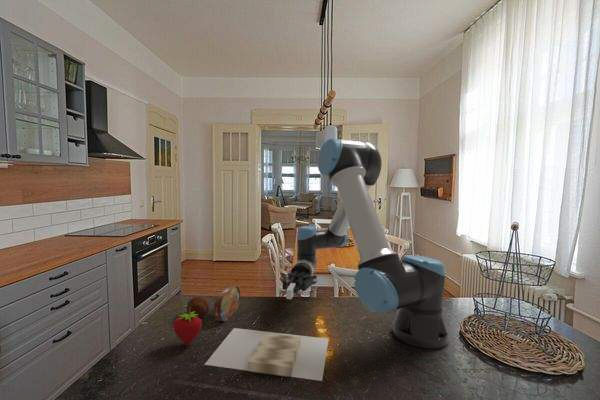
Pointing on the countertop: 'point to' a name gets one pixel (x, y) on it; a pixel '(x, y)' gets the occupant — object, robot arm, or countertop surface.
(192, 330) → the strawberry
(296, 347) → the board
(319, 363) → the mat
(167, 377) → the countertop surface
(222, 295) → the tin
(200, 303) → the potato
